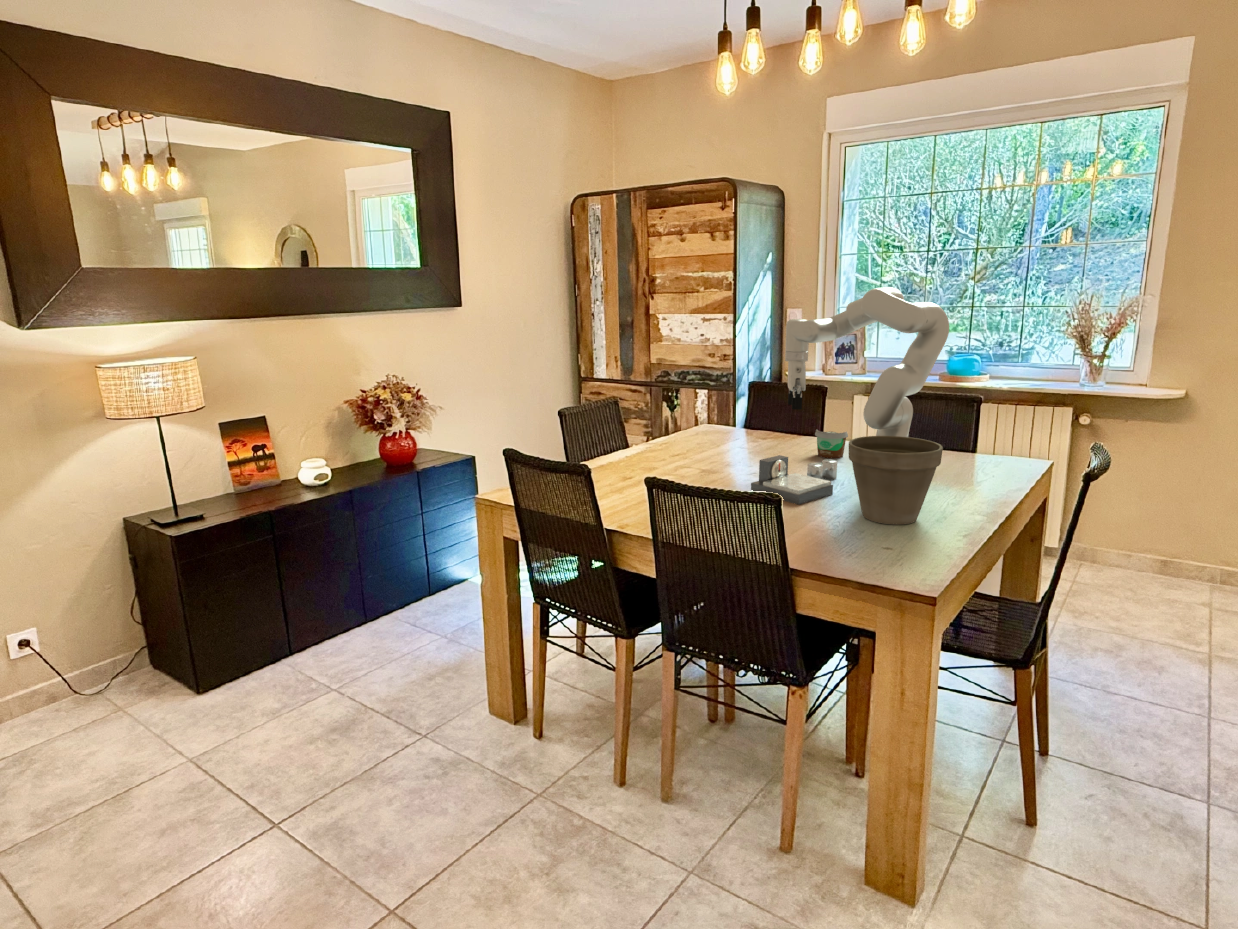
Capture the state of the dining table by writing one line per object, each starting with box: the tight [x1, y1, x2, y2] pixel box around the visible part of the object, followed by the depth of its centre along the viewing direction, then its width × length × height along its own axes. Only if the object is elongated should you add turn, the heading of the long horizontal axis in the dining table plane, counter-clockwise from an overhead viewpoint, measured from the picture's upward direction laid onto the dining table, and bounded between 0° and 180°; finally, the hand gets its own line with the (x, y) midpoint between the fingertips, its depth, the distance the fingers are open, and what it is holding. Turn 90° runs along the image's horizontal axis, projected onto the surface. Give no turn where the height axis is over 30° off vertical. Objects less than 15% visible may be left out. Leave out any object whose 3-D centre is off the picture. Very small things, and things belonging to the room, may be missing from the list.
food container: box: [814, 429, 849, 460], centre depth 284 cm, size 12×6×10 cm, turn 62°
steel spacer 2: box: [821, 458, 838, 481], centre depth 256 cm, size 5×5×6 cm
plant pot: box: [848, 435, 944, 526], centre depth 212 cm, size 25×25×22 cm
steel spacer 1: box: [806, 462, 823, 479], centre depth 251 cm, size 5×5×6 cm
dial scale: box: [750, 454, 834, 506], centre depth 238 cm, size 19×17×10 cm
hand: (794, 406), depth 256 cm, fingers open, 9 cm apart
